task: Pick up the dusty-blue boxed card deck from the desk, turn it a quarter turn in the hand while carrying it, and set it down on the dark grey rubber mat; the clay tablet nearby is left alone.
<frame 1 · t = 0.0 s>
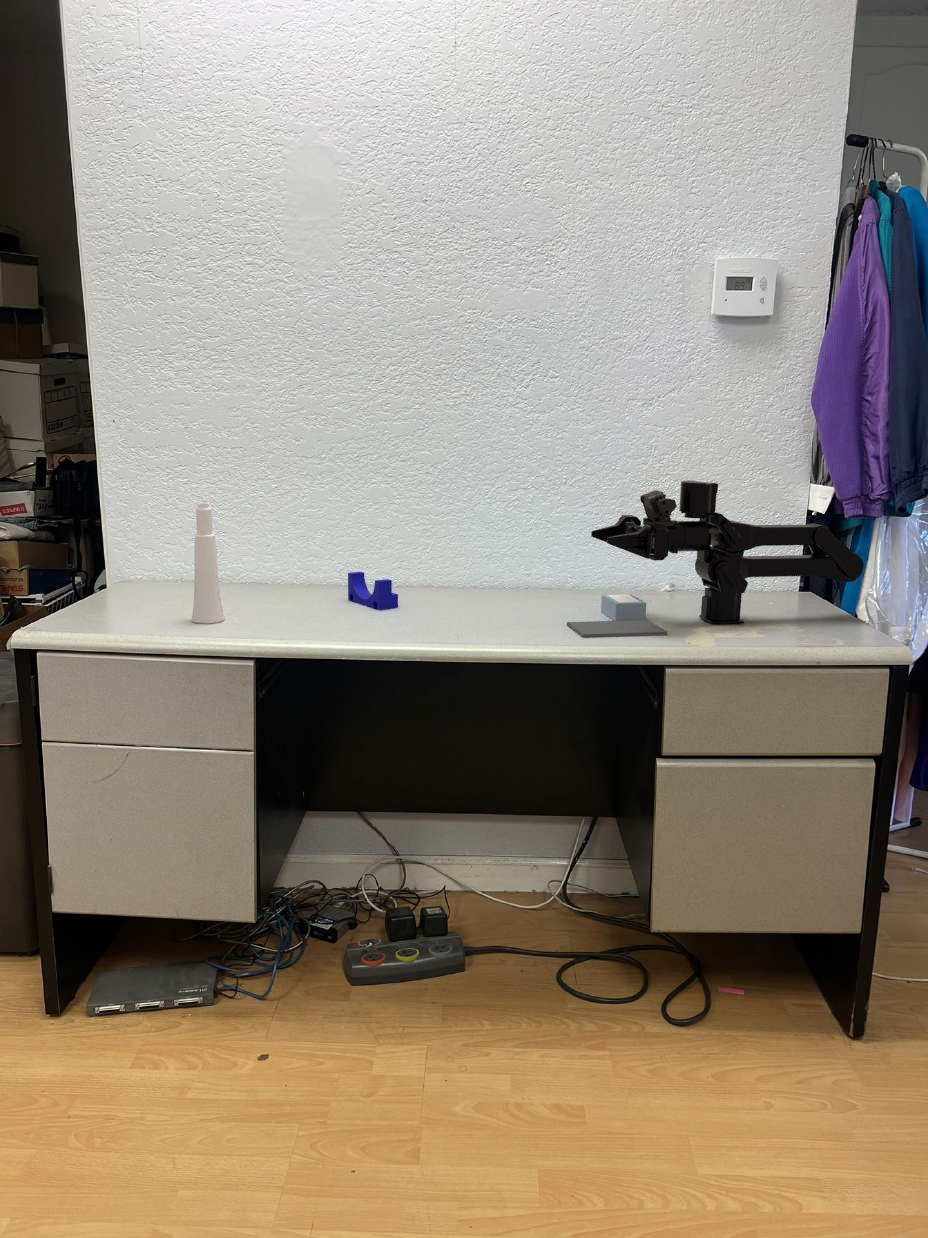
hand: (599, 537, 185), 17 cm above the table, tool horizontal, fingers open, 9 cm apart
cosmetic bottle: (208, 621, 186), on the table
card deck: (622, 618, 195), on the table
mat: (616, 629, 184), on the table
cable clip: (372, 606, 204), on the table
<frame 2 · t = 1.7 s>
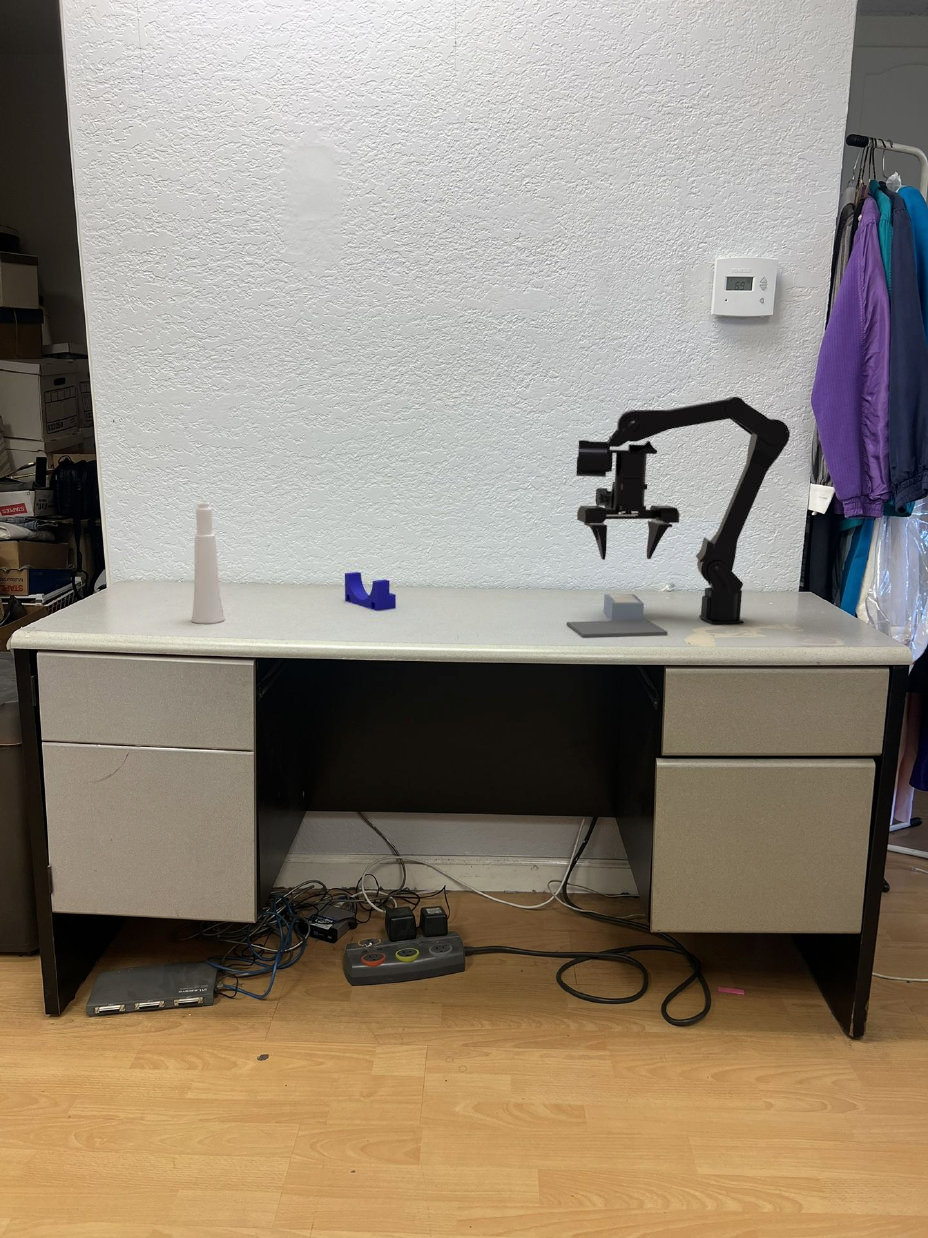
hand: (625, 559, 192), 11 cm above the table, tool pointing down, fingers open, 9 cm apart
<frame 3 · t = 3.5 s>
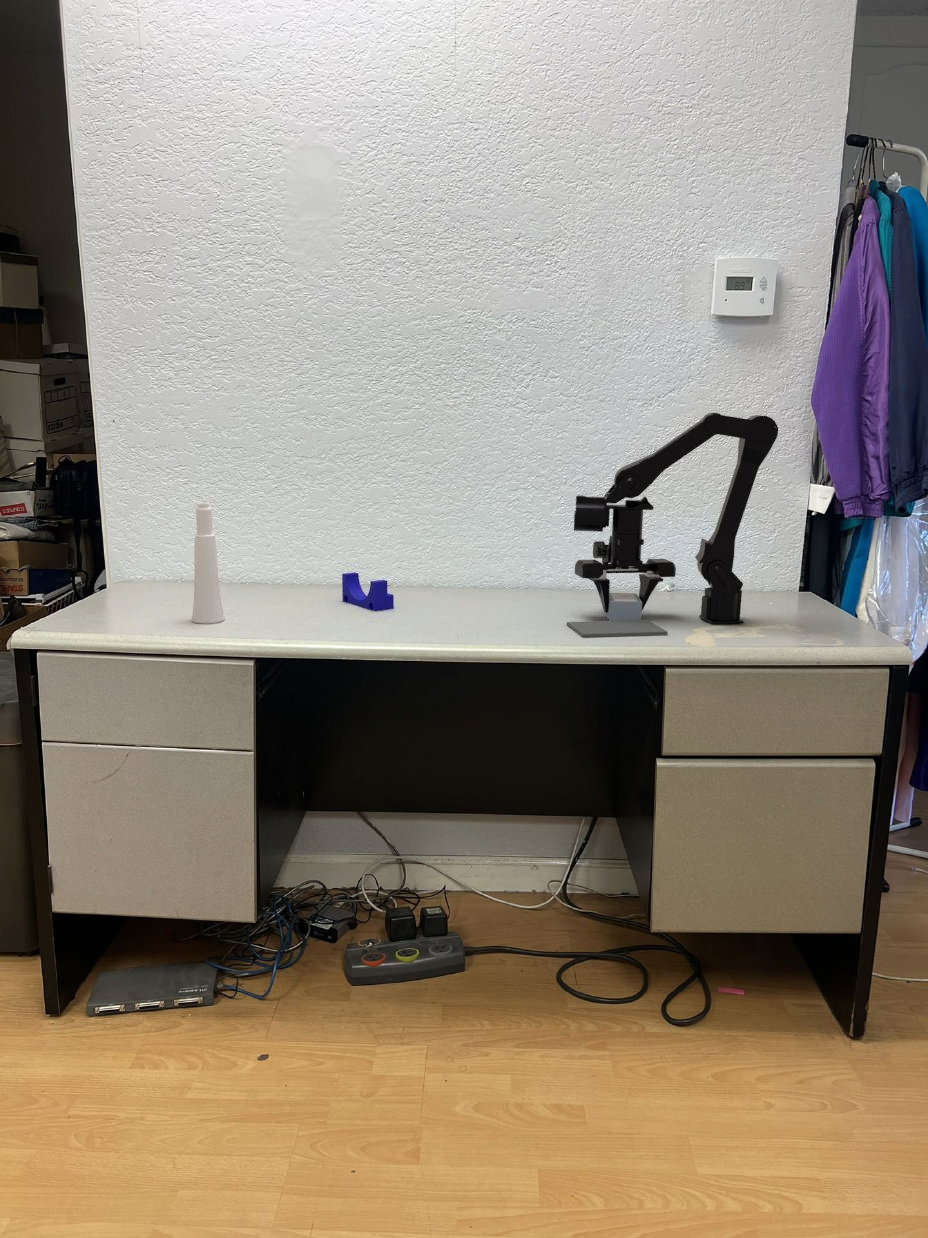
hand: (622, 612, 195), 1 cm above the table, tool pointing down, fingers closed on card deck, 7 cm apart
card deck: (622, 617, 195), on the table, touching gripper
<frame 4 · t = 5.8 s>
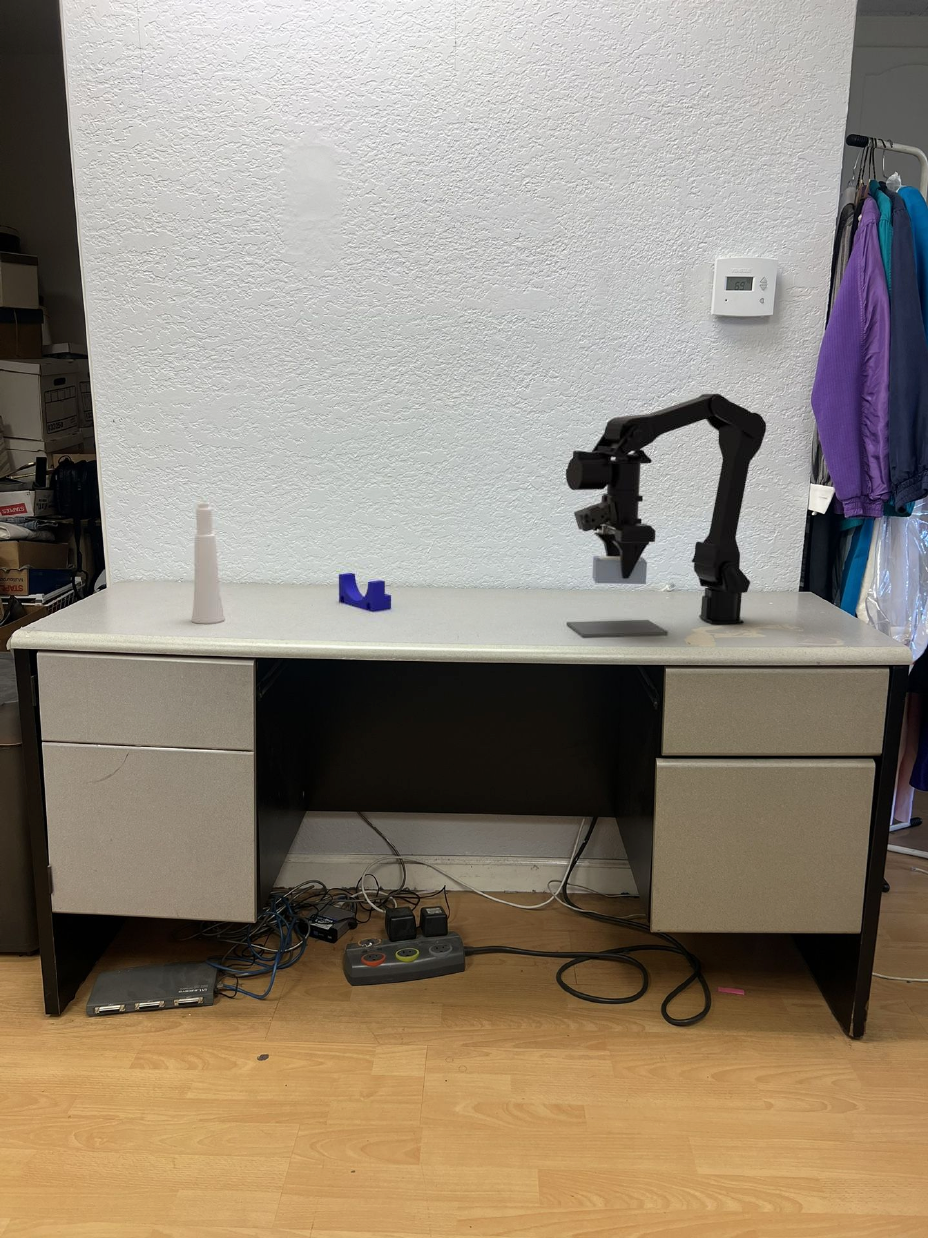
hand: (619, 575, 182), 10 cm above the table, tool pointing down, fingers closed on card deck, 6 cm apart
card deck: (618, 580, 182), point 9 cm above the table, touching gripper
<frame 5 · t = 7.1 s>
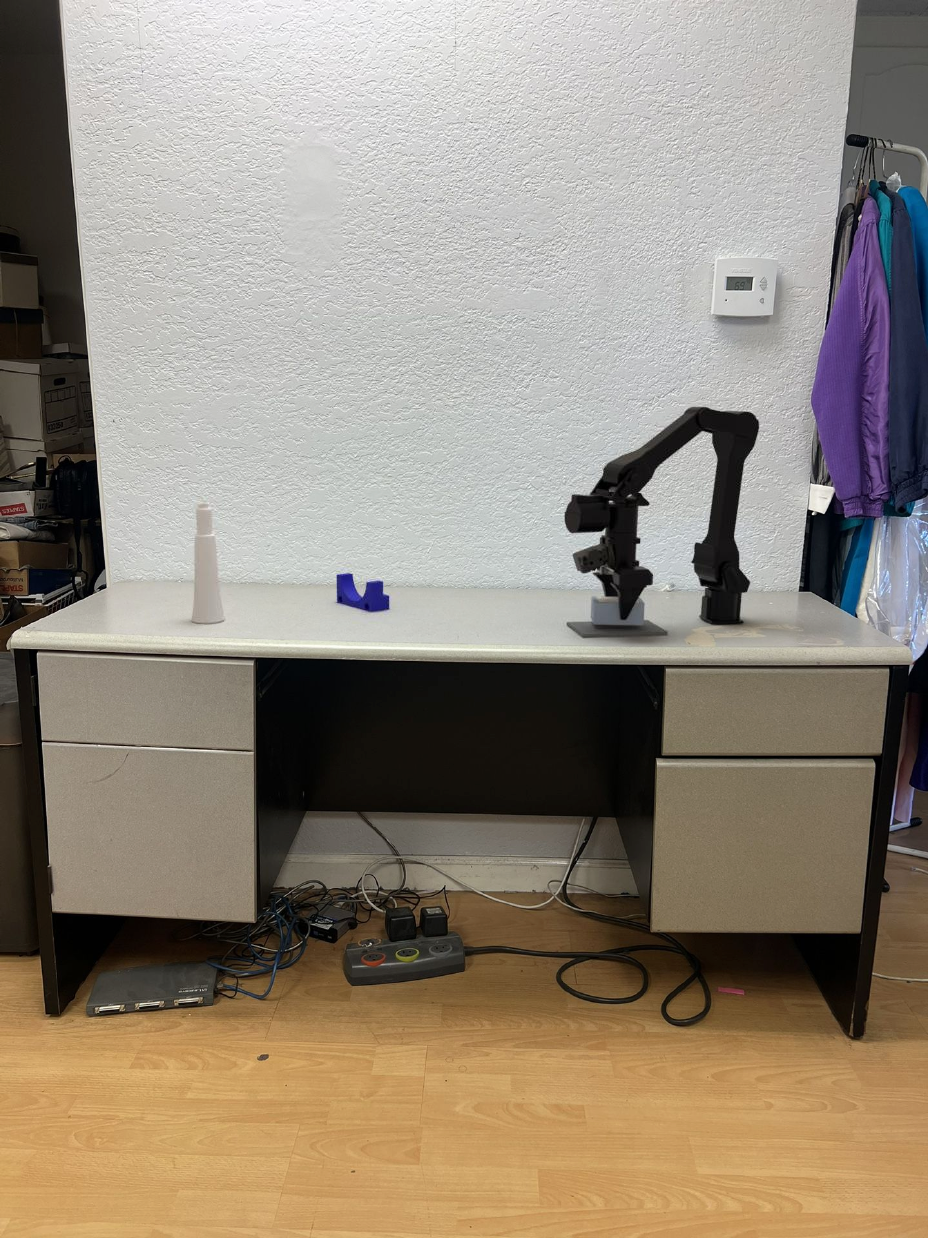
hand: (617, 615, 183), 3 cm above the table, tool pointing down, fingers closed on card deck, 6 cm apart
card deck: (616, 621, 183), point 2 cm above the table, touching gripper
when the fingers open (3 cm above the table, at t = 8.0 s): card deck stays where it is, resting on mat.
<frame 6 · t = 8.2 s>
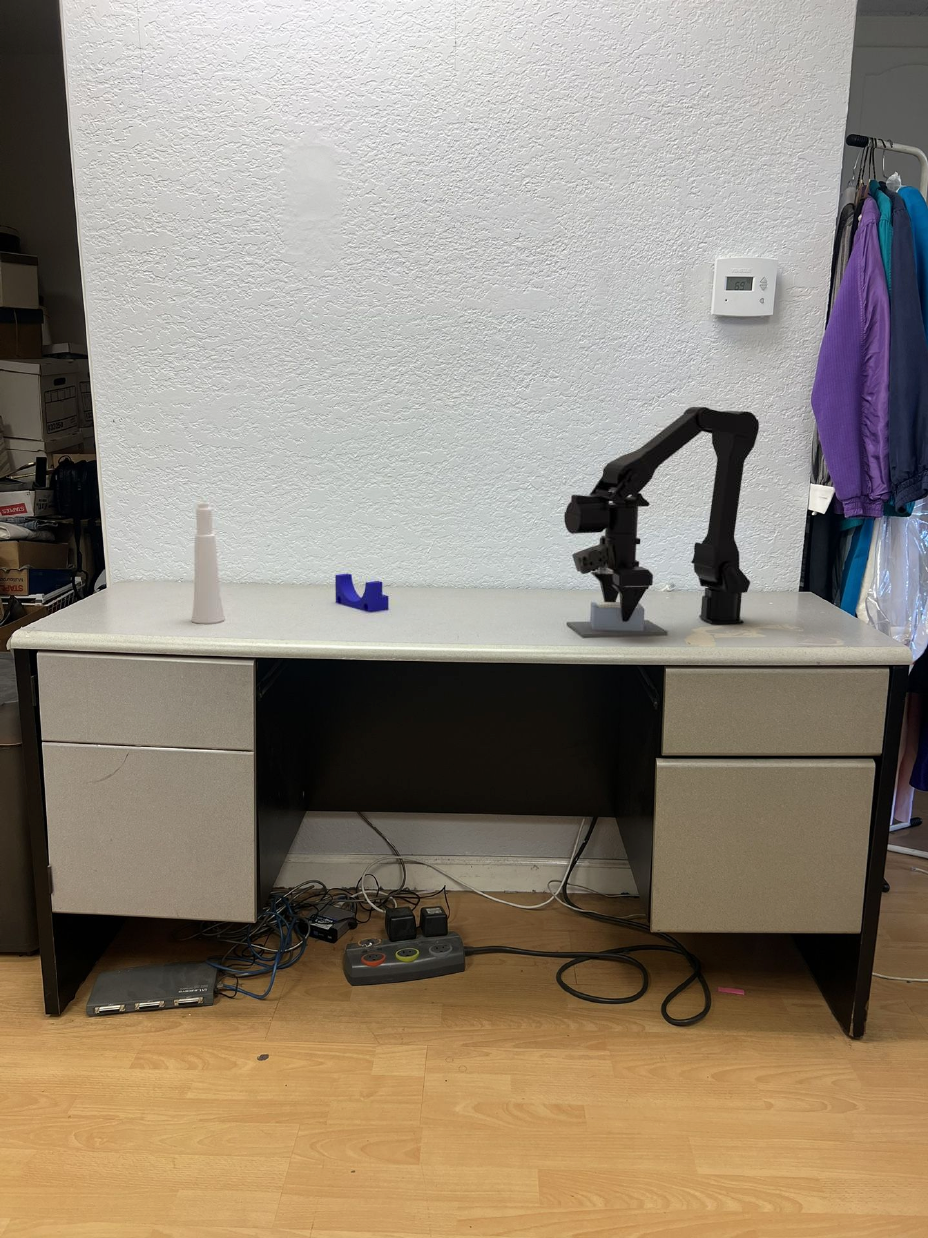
hand: (616, 616, 183), 3 cm above the table, tool pointing down, fingers open, 9 cm apart
card deck: (616, 626, 184), point 1 cm above the table, touching mat
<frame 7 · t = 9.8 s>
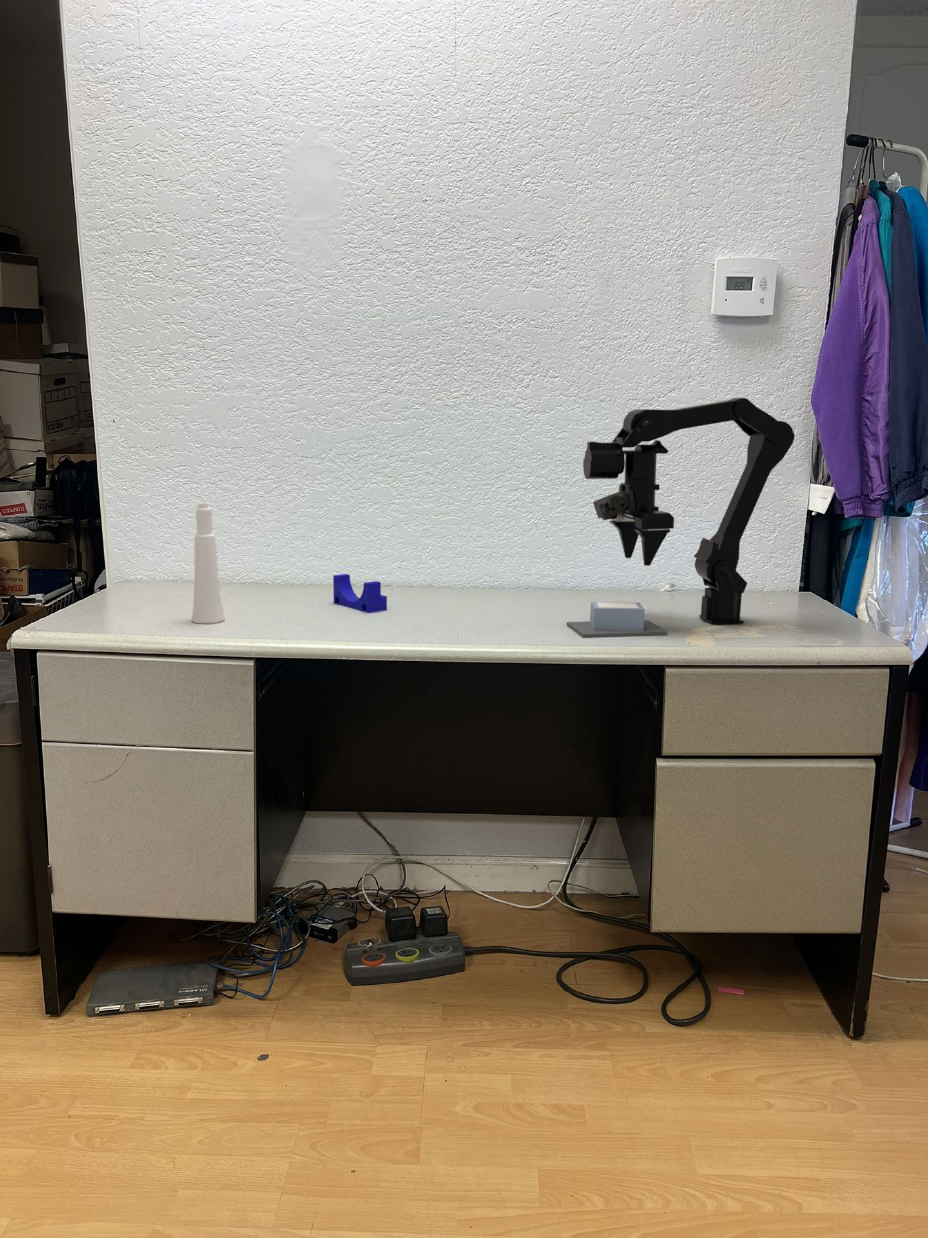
hand: (637, 561, 188), 12 cm above the table, tool pointing down, fingers open, 9 cm apart
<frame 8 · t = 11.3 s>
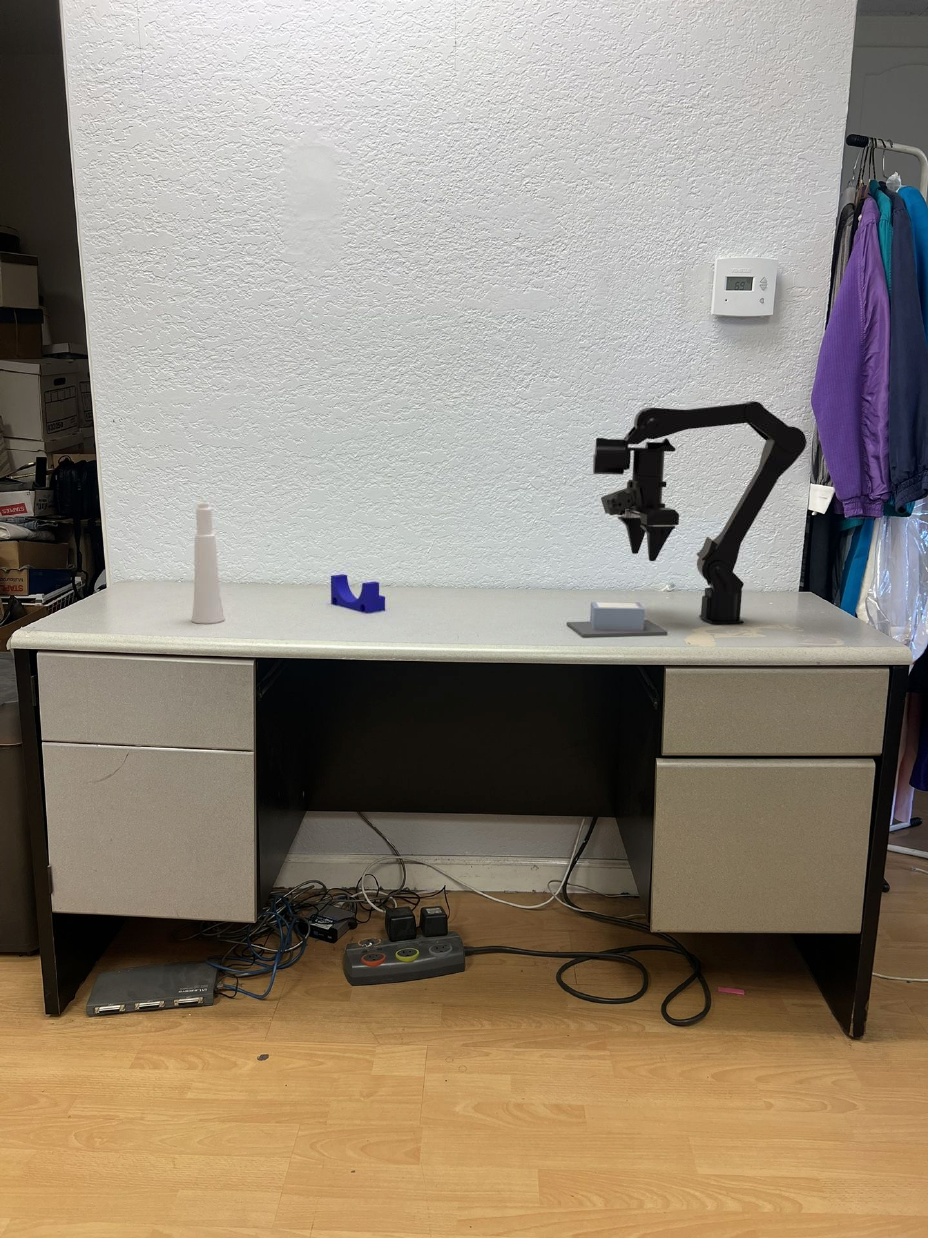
hand: (643, 557, 191), 12 cm above the table, tool pointing down, fingers open, 9 cm apart
at the end: card deck inside the target area on the mat (0.1 cm from its centre), point 0.6 cm above the mat's base; card deck tilted 0°; the gripper is holding nothing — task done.
